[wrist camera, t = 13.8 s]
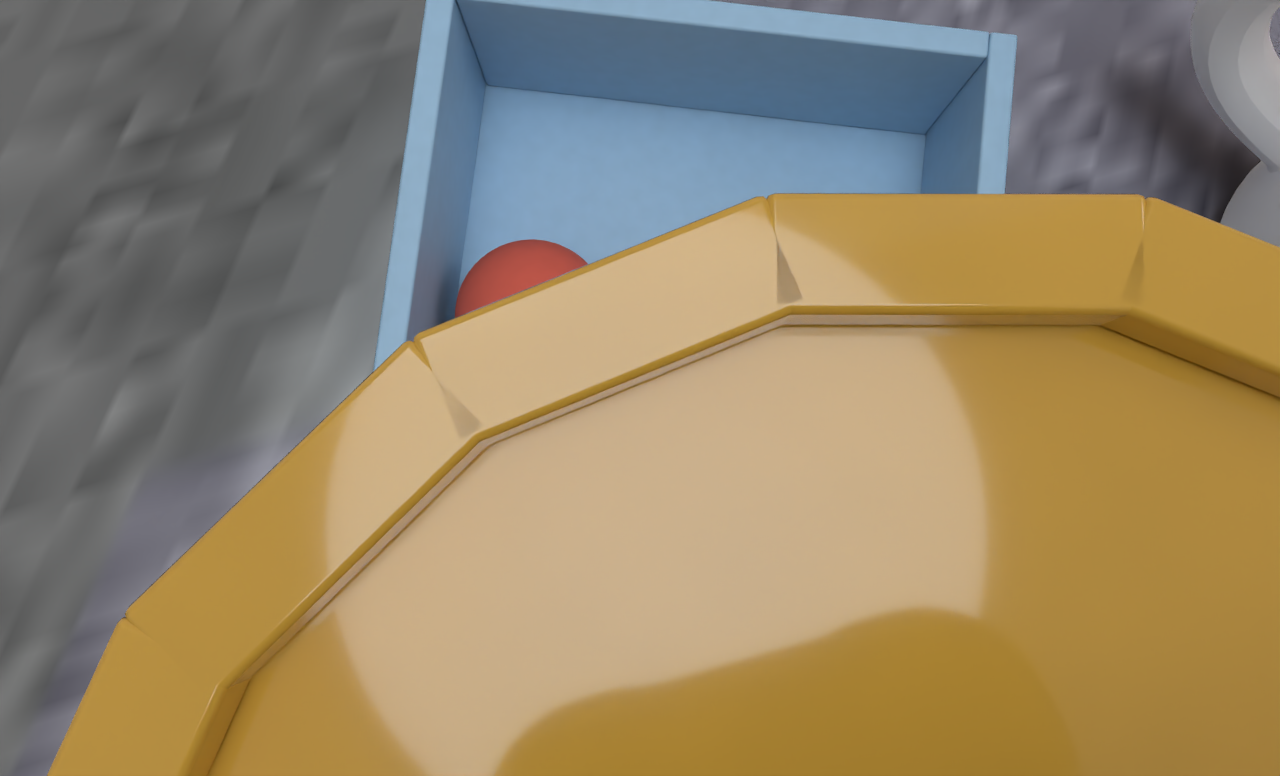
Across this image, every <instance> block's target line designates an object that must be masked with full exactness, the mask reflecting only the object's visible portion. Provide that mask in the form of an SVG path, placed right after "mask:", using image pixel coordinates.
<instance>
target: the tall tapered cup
mask: <svg viewBox="0 0 1280 776" xmlns="http://www.w3.org/2000/svg"><path fill="white" fill-rule="evenodd" d="M125 615H126V617H123V618H122V619H121V620H120V621H119V622H118V623H117V625H116V627H115V629H114V631H113V634H112V636H111V638H110V640H109V642H108V644H107V647H106V649H105V651H104V653H103V655H102V657H101V660H100V662H99V664H98V666H97V668H96V670H95V673H94V675H93V677H92V679H91V681H90V683H89V686H88V688H87V690H86V692H85V694H84V696H83V699H82V701H81V703H80V705H79V707H78V709H77V711H76V714H75V716H74V718H73V720H72V722H71V724H70V727H69V729H68V731H67V733H66V735H65V737H64V740H63V742H62V744H61V746H60V748H59V750H58V753H57V755H56V757H55V759H54V761H53V763H52V766H51V768H50V770H49V772H48V774H47V776H1280V247H1278V246H1276V245H1273V244H1270V243H1268V242H1265V241H1263V240H1260V239H1258V238H1255V237H1253V236H1250V235H1248V234H1245V233H1243V232H1240V231H1238V230H1235V229H1233V228H1230V227H1228V226H1225V225H1223V224H1220V223H1218V222H1215V221H1213V220H1210V219H1208V218H1205V217H1203V216H1200V215H1198V214H1195V213H1193V212H1190V211H1188V210H1185V209H1183V208H1180V207H1178V206H1175V205H1172V204H1170V203H1167V202H1165V201H1162V200H1160V199H1157V198H1154V197H1146V198H1144V196H1141V195H1138V194H968V193H773V194H771V195H768V196H767V199H766V198H765V197H764V196H756V197H753V198H751V199H749V200H746V201H744V202H741V203H739V204H736V205H734V206H731V207H729V208H726V209H724V210H721V211H719V212H716V213H714V214H711V215H709V216H706V217H704V218H701V219H699V220H696V221H694V222H691V223H689V224H687V225H684V226H682V227H679V228H677V229H674V230H672V231H669V232H667V233H664V234H662V235H659V236H657V237H654V238H652V239H649V240H647V241H644V242H642V243H639V244H637V245H634V246H632V247H629V248H627V249H624V250H622V251H620V252H617V253H615V254H612V255H610V256H607V257H605V258H602V259H600V260H597V261H595V262H592V263H590V264H587V265H585V266H582V267H580V268H577V269H575V270H572V271H570V272H567V273H565V274H562V275H560V276H558V277H555V278H553V279H550V280H548V281H545V282H543V283H540V284H538V285H535V286H533V287H530V288H528V289H525V290H523V291H520V292H518V293H515V294H513V295H510V296H508V297H505V298H503V299H500V300H498V301H496V302H493V303H491V304H488V305H486V306H483V307H481V308H478V309H476V310H473V311H471V312H468V313H466V314H463V315H461V316H458V317H456V318H453V319H451V320H448V321H446V322H443V323H441V324H438V325H436V326H433V327H431V328H429V329H426V330H424V331H421V332H419V333H418V334H417V335H416V336H415V337H414V341H411V340H409V341H406V342H404V343H403V344H401V345H400V346H399V347H398V348H397V349H396V350H395V351H394V352H393V353H392V354H391V355H390V356H389V357H388V358H387V359H386V360H385V361H384V362H383V363H382V364H381V365H380V366H379V367H378V368H377V369H375V370H374V371H373V372H372V373H371V374H370V375H369V376H368V377H367V378H366V379H365V380H364V381H363V382H362V383H361V384H360V385H359V386H358V387H357V388H356V389H355V390H354V391H353V392H352V393H351V394H350V395H348V396H347V397H346V398H345V399H344V400H343V401H342V402H341V403H340V404H339V405H338V406H337V407H336V408H335V409H334V410H333V411H332V412H331V413H330V414H329V415H328V416H327V417H326V418H325V419H324V420H322V421H321V422H320V423H319V424H318V425H317V426H316V427H315V428H314V429H313V430H312V431H311V432H310V433H309V434H308V435H307V436H306V437H305V438H304V439H303V440H302V441H301V442H300V443H299V444H298V445H296V446H295V447H294V448H293V449H292V450H291V451H290V452H289V453H288V454H287V455H286V456H285V457H284V458H283V459H282V460H281V461H280V462H279V463H278V464H277V465H276V466H275V467H274V468H273V469H272V470H271V471H269V472H268V473H267V474H266V475H265V476H264V477H263V478H262V479H261V480H260V481H259V482H258V483H257V484H256V485H255V486H254V487H253V488H252V489H251V490H250V491H249V492H248V493H247V494H246V495H245V496H243V497H242V498H241V499H240V500H239V501H238V502H237V503H236V504H235V505H234V506H233V507H232V508H231V509H230V510H229V511H228V512H227V513H226V514H225V515H224V516H223V517H222V518H221V519H220V520H219V521H217V522H216V523H215V524H214V525H213V526H212V527H211V528H210V529H209V530H208V531H207V532H206V533H205V534H204V535H203V536H202V537H201V538H200V539H199V540H198V541H197V542H196V543H195V544H194V545H193V546H192V547H190V548H189V549H188V550H187V551H186V552H185V553H184V554H183V555H182V556H181V557H180V558H179V559H178V560H177V561H176V562H175V563H174V564H173V565H172V566H171V567H170V568H169V569H168V570H167V571H166V572H164V573H163V574H162V575H161V576H160V577H159V578H158V579H157V580H156V581H155V582H154V583H153V584H152V585H151V586H150V587H149V588H148V589H147V590H146V591H145V592H144V593H143V594H142V595H141V596H140V597H138V598H137V599H136V600H135V601H134V602H133V603H132V604H131V605H130V606H129V608H128V610H127V611H126V613H125Z"/></svg>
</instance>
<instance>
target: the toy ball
mask: <svg viewBox="0 0 1280 776" xmlns="http://www.w3.org/2000/svg"><path fill="white" fill-rule="evenodd" d="M587 264H588V263H587V262H586V261H585V260H584V259H583V258H581V257H580V256H579V255H578V254H576V253H575V252H573V251H572V250H570V249H568V248H566V247H564V246H562V245H559V244H556V243H553V242H549V241H545V240H535V239H529V240H519V241H514V242H510V243H507V244H504V245H501V246H499V247H497V248H495V249H494V250H492V251H490V252H489V253H487V254H486V255H485V256H483V257H482V258H481V259H480V260H479V261H478V262H477V263H476V264H475V265H474V266H473V267H472V268H471V270H470V271H469V272H468V274H467V275H466V277H465V279H464V281H463V282H462V285H461V287H460V290H459V292H458V296H457V300H456V307H455V318H456V317H458V316H461V315H463V314H466V313H468V312H471V311H473V310H476V309H478V308H481V307H483V306H486V305H488V304H491V303H493V302H496V301H498V300H500V299H503V298H505V297H508V296H510V295H513V294H515V293H518V292H520V291H523V290H525V289H528V288H530V287H533V286H535V285H538V284H540V283H543V282H545V281H548V280H550V279H553V278H555V277H558V276H560V275H562V274H565V273H567V272H570V271H572V270H575V269H577V268H580V267H582V266H585V265H587Z"/></svg>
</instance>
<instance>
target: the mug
mask: <svg viewBox="0 0 1280 776" xmlns="http://www.w3.org/2000/svg"><path fill="white" fill-rule="evenodd" d="M1279 6H1280V0H1197V3H1196V6H1195V10H1194V13H1193V16H1192V22H1191V54H1192V60H1193V65H1194V71H1195V74H1196V76H1197V79H1198V81H1199V84H1200V86H1201V88H1202V91H1203V93H1204V94H1205V96H1206V98H1207V99H1208V101H1209V103H1210V104H1211V106H1212V108H1213V109H1214V111H1215V112H1216V113H1217V114H1218V116H1219V117H1220V118H1221V119H1222V121H1223V122H1224V123H1225V124H1226V126H1227V127H1228V128H1229V129H1230V130H1231V131H1232V132H1233V133H1234V134H1235V135H1236V136H1237V138H1238V139H1239V140H1240V141H1241V142H1242V143H1243V144H1244V145H1245V146H1246V147H1247V148H1248V149H1250V150H1251V151H1252V152H1253V153H1254V154H1255V155H1256V156H1257V157H1258V158H1259V159H1260V160H1261V161H1260V162H1259V163H1258V164H1257V165H1256V166H1255V167H1254V168H1253V169H1252V170H1251V171H1250V172H1249V173H1248V175H1247V176H1246V177H1245V179H1244V180H1243V181H1242V183H1241V184H1240V185H1239V187H1238V188H1237V189H1236V191H1235V193H1234V195H1233V196H1232V198H1231V200H1230V202H1229V204H1228V205H1227V207H1226V209H1225V211H1224V214H1223V216H1222V219H1221V222H1220V224H1223V225H1225V226H1228V227H1230V228H1233V229H1235V230H1238V231H1240V232H1243V233H1245V234H1248V235H1250V236H1253V237H1255V238H1258V239H1260V240H1263V241H1265V242H1268V243H1270V244H1273V245H1276V246H1278V247H1280V59H1279V57H1278V56H1277V54H1276V52H1275V51H1274V48H1273V45H1272V42H1271V39H1270V33H1269V29H1270V23H1271V19H1272V16H1273V15H1274V13H1275V12H1276V10H1277V9H1278V8H1279Z"/></svg>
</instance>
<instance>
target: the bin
mask: <svg viewBox="0 0 1280 776" xmlns="http://www.w3.org/2000/svg"><path fill="white" fill-rule="evenodd" d="M1016 48H1017V36H1016V35H1012V34H1003V33H990V34H989V33H988V32H985V31H976V30H967V29H958V28H949V27H941V26H932V25H923V24H914V23H905V22H896V21H887V20H878V19H869V18H860V17H852V16H843V15H834V14H825V13H816V12H807V11H798V10H789V9H780V8H771V7H763V6H754V5H745V4H736V3H727V2H718V1H709V0H426V4H425V11H424V18H423V25H422V32H421V39H420V46H419V53H418V60H417V67H416V74H415V81H414V88H413V95H412V102H411V109H410V116H409V123H408V130H407V137H406V144H405V151H404V158H403V165H402V172H401V179H400V186H399V193H398V200H397V207H396V214H395V221H394V228H393V235H392V242H391V249H390V256H389V263H388V270H387V277H386V284H385V291H384V298H383V305H382V312H381V319H380V326H379V333H378V340H377V347H376V354H375V361H374V368H373V371H374V370H375V369H377V368H378V367H379V366H380V365H381V364H382V363H383V362H384V361H385V360H386V359H387V358H388V357H389V356H390V355H391V354H392V353H393V352H394V351H395V350H396V349H397V348H398V347H399V346H400V345H401V344H403V343H404V342H406V341H409V340H411V341H414V337H415V336H416V335H417V334H418V333H419V332H421V331H424V330H426V329H429V328H431V327H433V326H436V325H438V324H441V323H443V322H446V321H448V320H451V319H453V318H455V307H456V300H457V296H458V292H459V290H460V287H461V285H462V282H463V281H464V279H465V277H466V275H467V274H468V272H469V271H470V270H471V268H472V267H473V266H474V265H475V264H476V263H477V262H478V261H479V260H480V259H481V258H482V257H483V256H485V255H486V254H487V253H489V252H490V251H492V250H494V249H495V248H497V247H499V246H501V245H504V244H507V243H510V242H514V241H519V240H529V239H535V240H545V241H549V242H553V243H556V244H559V245H562V246H564V247H566V248H568V249H570V250H572V251H573V252H575V253H576V254H578V255H579V256H580V257H581V258H583V259H584V260H585V261H586V262H587V263H588V264H590V263H592V262H595V261H597V260H600V259H602V258H605V257H607V256H610V255H612V254H615V253H617V252H620V251H622V250H624V249H627V248H629V247H632V246H634V245H637V244H639V243H642V242H644V241H647V240H649V239H652V238H654V237H657V236H659V235H662V234H664V233H667V232H669V231H672V230H674V229H677V228H679V227H682V226H684V225H687V224H689V223H691V222H694V221H696V220H699V219H701V218H704V217H706V216H709V215H711V214H714V213H716V212H719V211H721V210H724V209H726V208H729V207H731V206H734V205H736V204H739V203H741V202H744V201H746V200H749V199H751V198H753V197H756V196H764V197H765V198H766V199H767V196H768V195H771V194H773V193H968V194H1005V183H1006V171H1007V159H1008V146H1009V134H1010V122H1011V109H1012V97H1013V85H1014V72H1015V60H1016Z"/></svg>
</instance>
